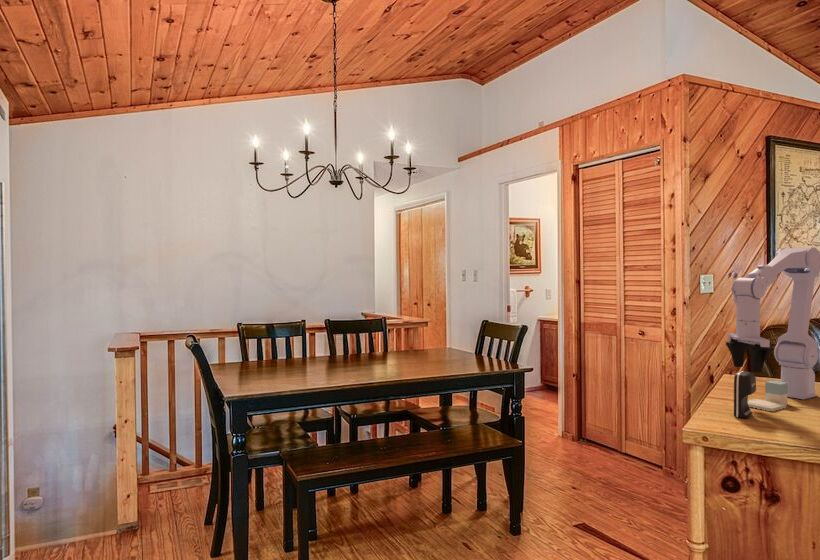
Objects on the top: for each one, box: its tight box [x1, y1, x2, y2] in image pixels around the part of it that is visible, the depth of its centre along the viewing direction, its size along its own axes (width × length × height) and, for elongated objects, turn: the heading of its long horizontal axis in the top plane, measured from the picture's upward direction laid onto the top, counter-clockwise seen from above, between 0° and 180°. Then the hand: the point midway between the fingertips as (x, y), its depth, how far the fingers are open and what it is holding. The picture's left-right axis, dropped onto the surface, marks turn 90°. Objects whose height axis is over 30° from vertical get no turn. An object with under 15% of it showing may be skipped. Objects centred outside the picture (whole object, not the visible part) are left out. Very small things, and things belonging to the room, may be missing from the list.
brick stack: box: [764, 380, 788, 405], centre depth 162 cm, size 4×4×6 cm
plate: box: [748, 398, 787, 412], centre depth 159 cm, size 8×8×1 cm
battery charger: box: [733, 370, 757, 419], centre depth 149 cm, size 7×4×11 cm, turn 137°
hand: (747, 369), depth 160 cm, fingers open, 7 cm apart
